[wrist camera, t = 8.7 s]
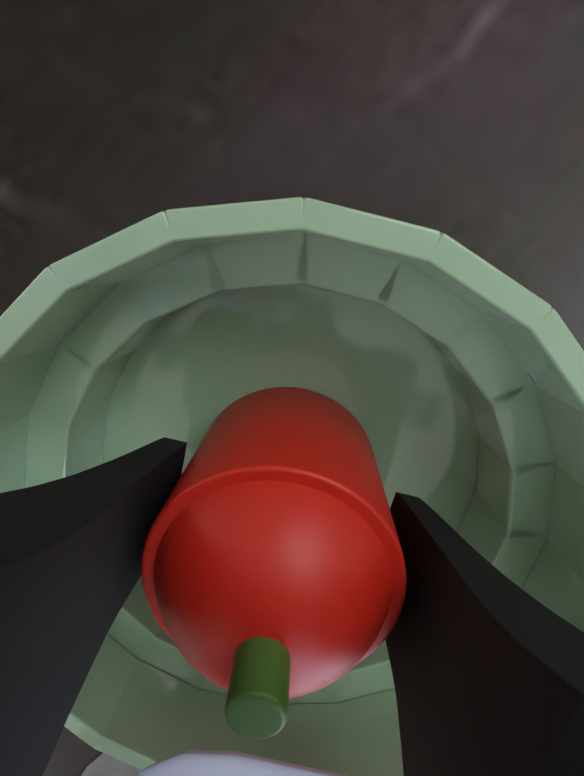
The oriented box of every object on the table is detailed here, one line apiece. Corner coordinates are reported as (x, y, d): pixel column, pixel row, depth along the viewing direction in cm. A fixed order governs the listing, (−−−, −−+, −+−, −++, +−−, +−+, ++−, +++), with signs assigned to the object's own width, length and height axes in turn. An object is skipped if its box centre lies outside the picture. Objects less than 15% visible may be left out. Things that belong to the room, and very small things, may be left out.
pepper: (188, 521, 14) (59, 798, 7) (217, 366, 12) (88, 522, 5) (347, 558, 14) (381, 868, 7) (397, 409, 12) (504, 618, 5)
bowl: (54, 586, 16) (-62, 734, 11) (88, 163, 11) (-77, 99, 7) (430, 671, 16) (480, 852, 11) (602, 292, 12) (801, 321, 7)
